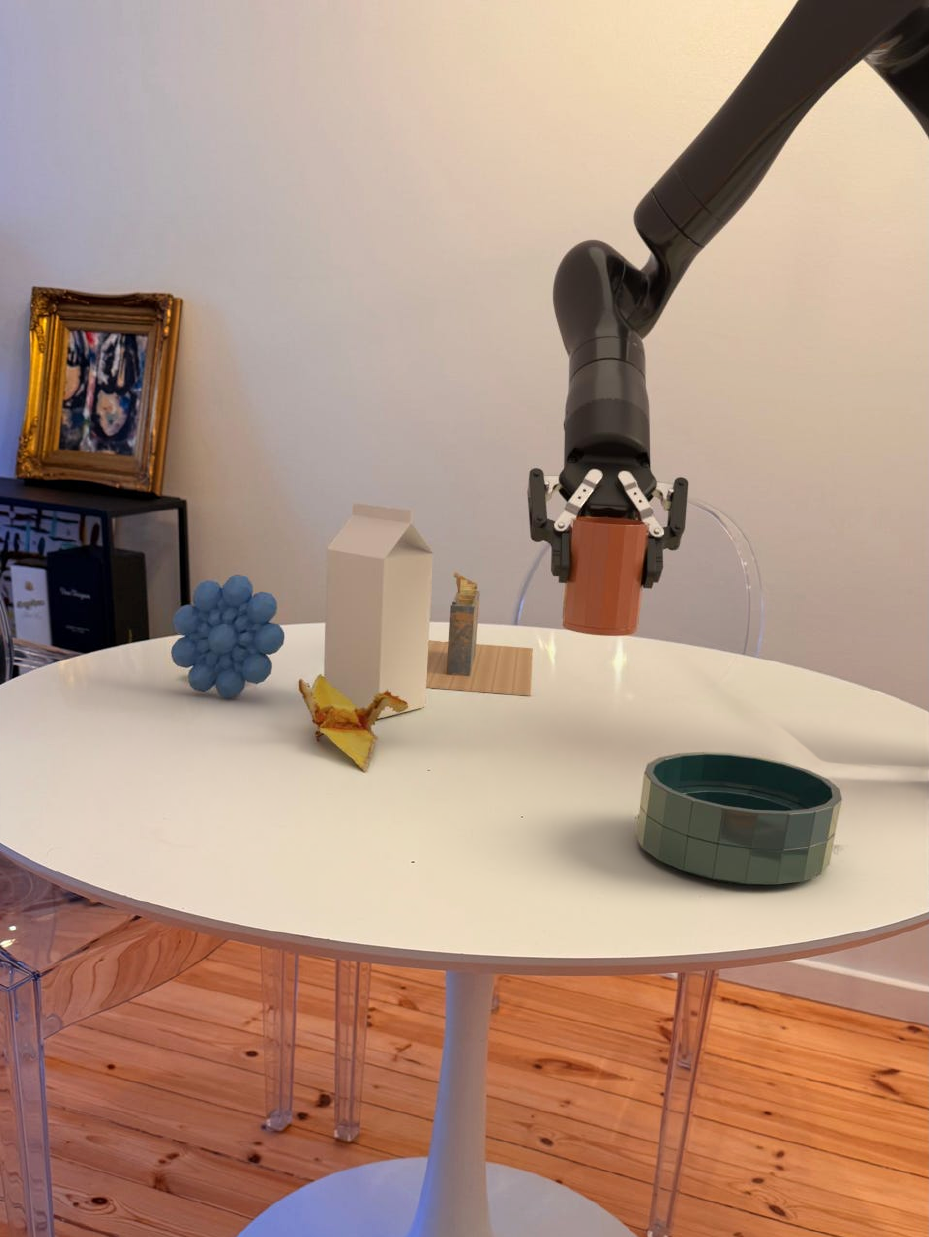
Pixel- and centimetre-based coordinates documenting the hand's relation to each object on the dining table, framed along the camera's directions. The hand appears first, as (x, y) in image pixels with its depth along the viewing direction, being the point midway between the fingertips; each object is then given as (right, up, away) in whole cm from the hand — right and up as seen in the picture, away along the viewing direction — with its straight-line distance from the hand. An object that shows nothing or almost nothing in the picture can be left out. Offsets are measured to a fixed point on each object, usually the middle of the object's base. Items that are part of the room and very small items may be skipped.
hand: (607, 579), depth 95 cm
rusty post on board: (-12, -2, +37) cm, 39 cm away
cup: (0, -4, +3) cm, 5 cm away
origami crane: (-23, -13, +5) cm, 27 cm away
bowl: (+7, -23, -14) cm, 28 cm away
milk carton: (-21, -9, +17) cm, 28 cm away
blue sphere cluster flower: (-35, -8, +17) cm, 40 cm away
